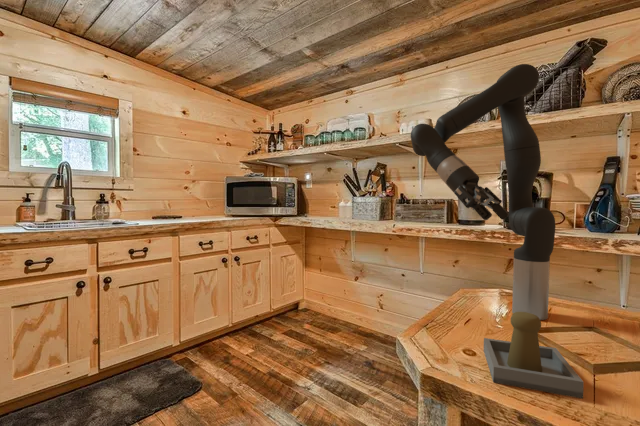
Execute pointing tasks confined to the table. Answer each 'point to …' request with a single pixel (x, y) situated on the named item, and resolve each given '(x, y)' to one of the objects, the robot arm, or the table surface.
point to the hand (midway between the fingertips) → (497, 217)
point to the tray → (551, 379)
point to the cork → (525, 342)
